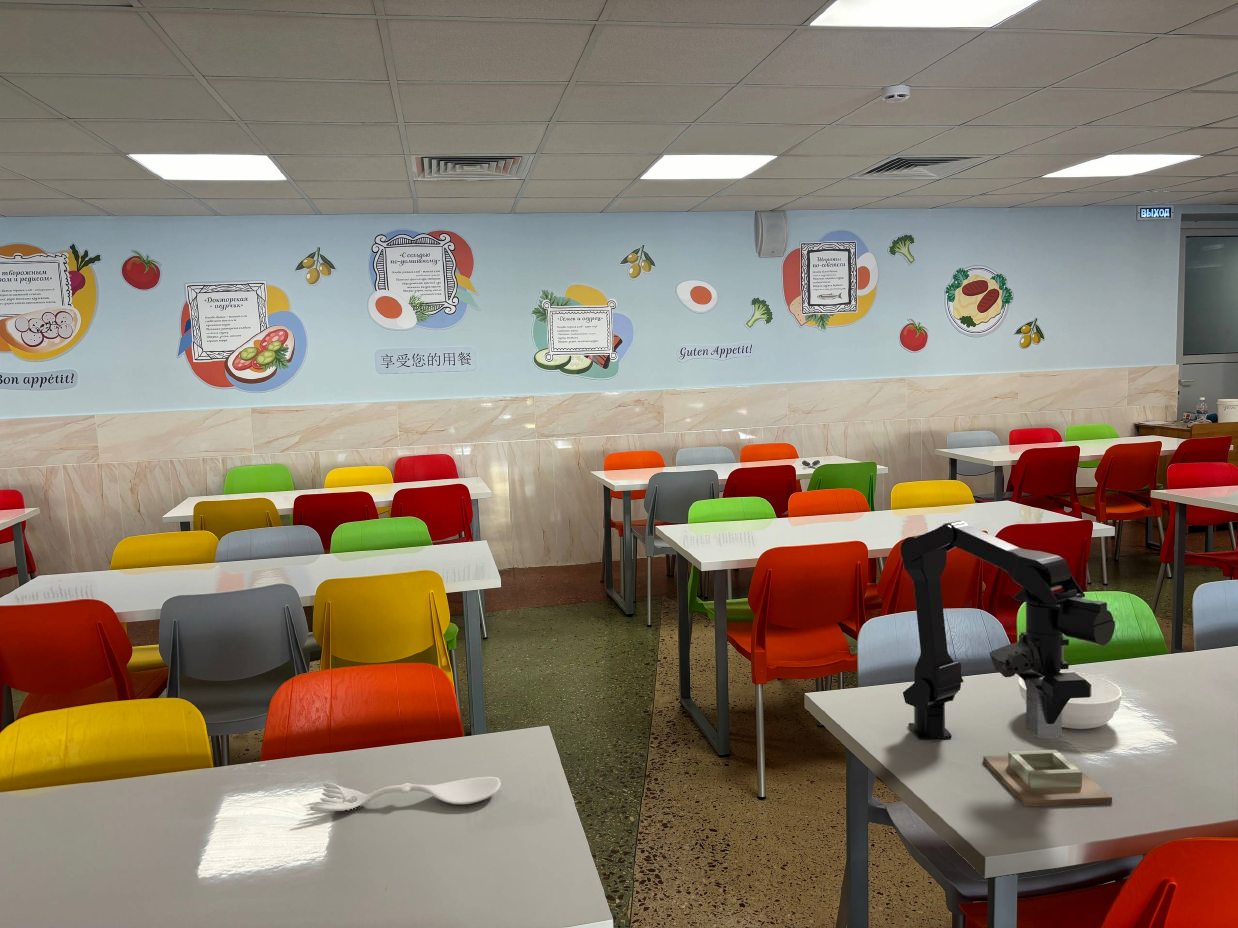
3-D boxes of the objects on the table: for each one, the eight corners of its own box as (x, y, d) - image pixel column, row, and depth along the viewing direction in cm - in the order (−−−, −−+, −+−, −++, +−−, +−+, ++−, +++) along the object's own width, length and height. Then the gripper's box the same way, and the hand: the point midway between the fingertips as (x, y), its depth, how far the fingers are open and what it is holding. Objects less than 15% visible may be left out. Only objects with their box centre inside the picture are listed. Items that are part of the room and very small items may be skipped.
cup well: (983, 761, 150) (983, 742, 149) (1060, 757, 149) (1060, 739, 149) (1025, 806, 134) (1025, 785, 133) (1112, 802, 133) (1112, 782, 133)
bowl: (1122, 711, 168) (1123, 677, 167) (1120, 747, 153) (1121, 710, 152) (1023, 697, 178) (1023, 664, 177) (1012, 729, 162) (1012, 693, 162)
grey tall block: (1026, 727, 143) (1026, 678, 142) (1049, 727, 143) (1049, 677, 142) (1037, 737, 139) (1038, 686, 138) (1061, 737, 139) (1061, 685, 138)
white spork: (325, 798, 148) (323, 779, 148) (503, 783, 151) (501, 765, 150) (310, 824, 139) (308, 805, 139) (499, 808, 142) (498, 789, 141)
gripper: (973, 616, 148) (973, 699, 150) (1023, 649, 130) (1022, 744, 131) (1035, 613, 148) (1034, 696, 150) (1093, 646, 130) (1092, 741, 131)
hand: (1043, 718), depth 140 cm, fingers closed on grey tall block, 4 cm apart
